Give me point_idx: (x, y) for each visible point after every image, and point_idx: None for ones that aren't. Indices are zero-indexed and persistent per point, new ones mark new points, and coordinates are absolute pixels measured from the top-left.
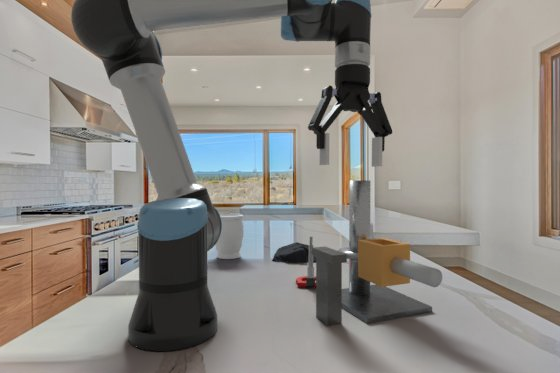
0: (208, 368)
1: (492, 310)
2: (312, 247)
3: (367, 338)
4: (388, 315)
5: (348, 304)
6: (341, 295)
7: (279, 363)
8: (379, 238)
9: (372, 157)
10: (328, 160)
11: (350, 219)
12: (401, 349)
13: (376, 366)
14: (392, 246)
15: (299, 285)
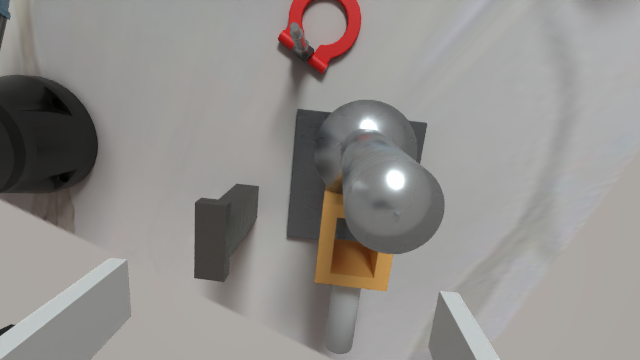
0: (77, 236)
1: (484, 282)
2: (297, 40)
3: (260, 262)
4: None
5: (297, 183)
6: (246, 232)
7: (145, 260)
8: None
9: (456, 331)
10: (114, 329)
11: (342, 162)
12: (276, 296)
13: (230, 306)
14: (340, 284)
15: (281, 42)
